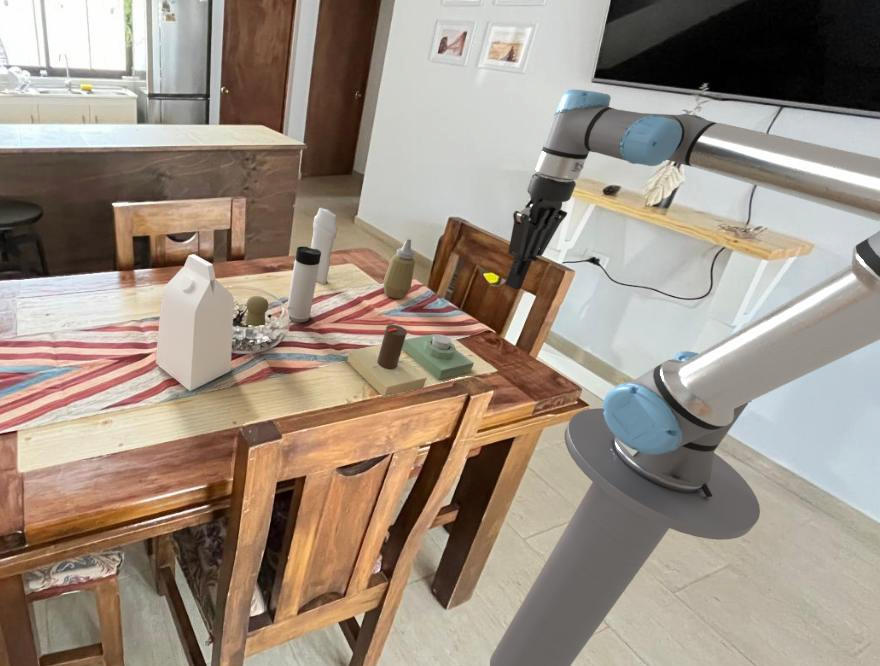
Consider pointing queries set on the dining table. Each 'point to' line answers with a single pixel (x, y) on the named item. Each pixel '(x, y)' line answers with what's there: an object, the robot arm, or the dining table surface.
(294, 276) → the travel mug
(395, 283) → the squeeze bottle
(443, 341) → the grey rounded lump
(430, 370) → the green slab
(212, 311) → the milk
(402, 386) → the beige slab
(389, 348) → the brown upright cylinder
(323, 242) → the white rounded cylinder
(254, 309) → the cork
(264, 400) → the dining table surface
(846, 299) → the robot arm
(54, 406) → the dining table surface
